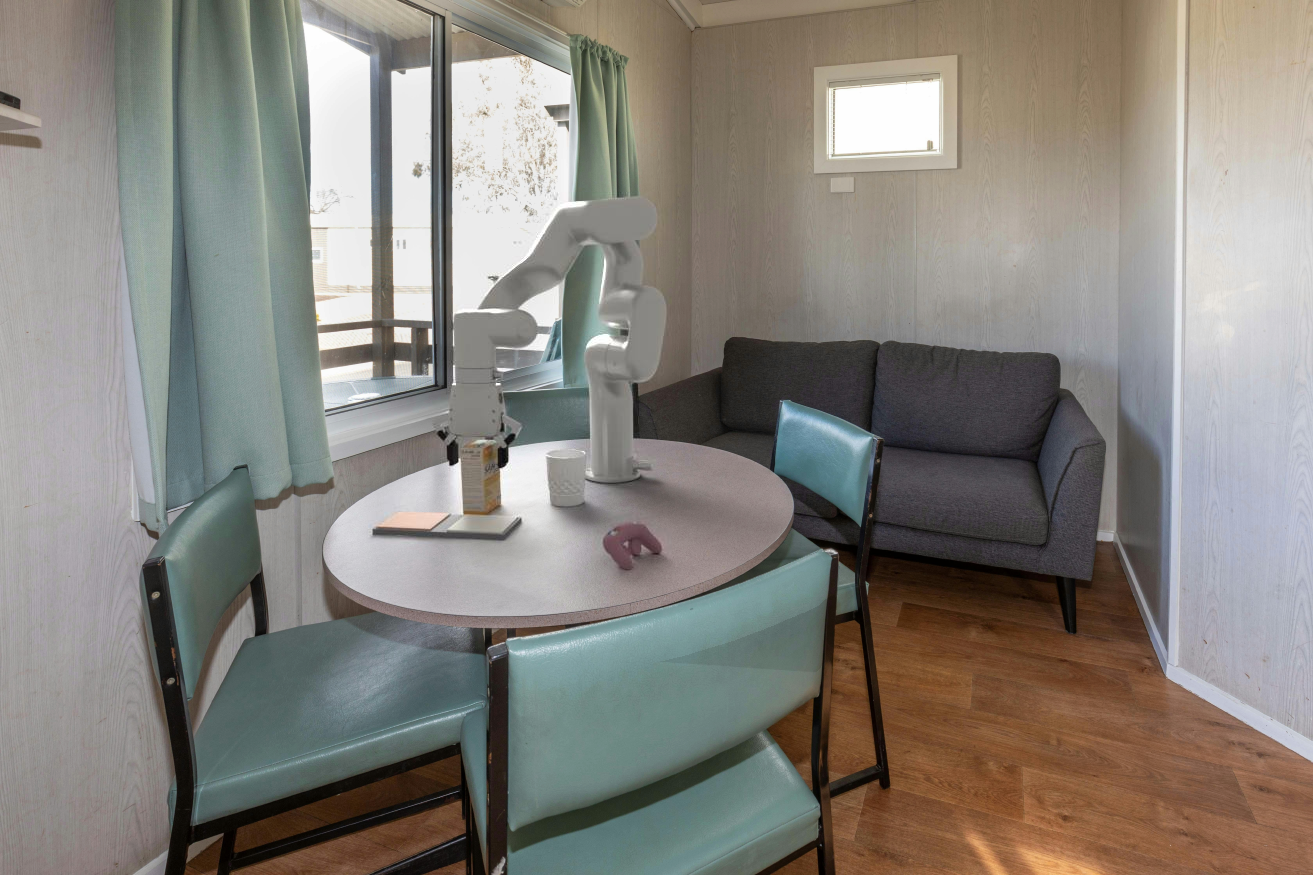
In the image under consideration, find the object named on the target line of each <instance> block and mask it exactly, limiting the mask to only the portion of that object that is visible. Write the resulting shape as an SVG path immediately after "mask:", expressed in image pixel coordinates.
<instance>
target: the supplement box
mask: <svg viewBox="0 0 1313 875" xmlns="http://www.w3.org/2000/svg"><path fill="white" fill-rule="evenodd" d="M499 447H500V445H499V444H498V443H497V441H496V440H495V439H476V440H475V441H473V442H470V443H469V444H466V445H463V446H461V447H460V448H459V454H460V455H459V458H460V459H459V460H460V475H461V493H462V494H461V495H462V497H461V498H462V515H465V514H473V515H488V513H490V512H491V511H492V510H494V509H496V507H498V506H499V505H501V504H502V497H501V496H502V493H501V492H502V491H501V490H502V489H501V468H498V452H497V449H498V448H499Z"/></svg>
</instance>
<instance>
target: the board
mask: <svg viewBox="0 0 1313 875" xmlns="http://www.w3.org/2000/svg"><path fill="white" fill-rule="evenodd" d="M522 519H523V518H522V517H521V516H518V515H517V516H515V515H496V514H495V515H493V514H490V515H489V514H486V515H473V514H457V513H455V514H452V513H449V512H423V511H422V512H421V511H402V510H401V511H398V512H396V513H395V514H392V515H391V516H390V517H388V518H387V519H385V520H383V521H382V522H381V523H379V524H377V525H376V526H374V527H373V528H372V529H371V530H372V535H381V536H383V535H384V536H399V537H400V536H403V537H406V536H407V537H420V538H421V537H423V538H425V537H426V538H444V539H466V540H487V541H503V542H504V541H505V540H506V539H507V538H508V537H510V536H511V534H512V533H513V532H514V531H515V530H516V529H517V528H518V527H519V526H520V525H521V524H522V523H523V520H522Z"/></svg>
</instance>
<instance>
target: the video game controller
mask: <svg viewBox="0 0 1313 875" xmlns="http://www.w3.org/2000/svg"><path fill="white" fill-rule="evenodd" d="M625 543H627V546H626V545H625ZM602 545H603V548H604V551H605V552H606V553H607V554H608V555H609V556H610V557H611V558H612V560H613V561H614V562H615V563H616V564H617V565H618V566H619V567H620V568H622V569H624V570H626V569H627V571H630V570H631V569H632V568H633V561H632V559H631V556H633V557H635V556H634V555H636V556H638V555H640V554H642V546H643V547H645V548H646V550H648V551H649V552H650V553H653V554H655V553H658V554H657V555H660V554H661V553H662V552H663V547H662V543H661V542H660V541H659V539H658V538H657V537H656V536H655V535H654V534H653V533H652V532H651V531H650V530H649V528H647V526H646V525H645V524H643V523H641V521H640V520H637V521H626V522H622V523H619V524H617V525H615V526H613V527H612V528H611V529H610V530H609V531H608V532H607V533H606V534H605V535H604V536H603V538H602Z"/></svg>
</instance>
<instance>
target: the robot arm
mask: <svg viewBox="0 0 1313 875" xmlns="http://www.w3.org/2000/svg"><path fill="white" fill-rule="evenodd" d="M657 211H658V210H657V208H656V206H655V205H654V204H653V202H652V201H651V200H649V199H648V198H646V197H644V196H641V195H637V196H626V197H625V196H624V197H613V198H609V197H608V198H603V199H596V200H595V199H594V200H593V199H592V200H582V201H581V200H580V201H571V202H566V203H563V204H561V205H560V206H558V207H557V208H556V209H555V210H554V212H553V214H552V215H551V216H550V218H549V220H548V221H547V222H546V224H545V226H544V228H543V229H542V230H541V232H540V234H539V235H538V238H536V240H535V241H534V243H533V245H532V247H531V248H530V250H529V252H528V253H527V254H526V256H525V257H524V259H522V260H520V261H519V262H518V263H517V264H516V265H514V266H513V267H512V268H511V269H509V271H508V272H506V273H505V274H504V275H503V276H501V277H500V279H498V280H497V281H496V282H495V283H494V284H493V285H492V286H491V288H490V289H489V290H488V291H487V293H486V294H485V296H484V297H483V299H482V301H481V302H480V304H479V306H478V307H477V309H461V310H458V311H457V312H455V313H454V315H453V351H454V355H453V356H454V378H455V382H454V383H452V384H451V388H450V394H449V401H448V402H449V404H448V413H447V414H445V415H443V416H441V417H439V418H437V419H435V420H433V421H432V424H431V425H432V426H433V428H434V430H435V432H436V435H437V436H438V437H439V439H440V440H442V442H443V444H444V445H445V446H446V459H447V461H448V466H449V467H454V466H455V465H456V464H458V463H459V461H460V459H459V458H460V455H459V454H460V453H459V443H458V442H457V439H458V438H459V437H467V438H489V439H490V438H493V440H496V441H497V443H498V444H499V448H498V449H497V452H498V468H500V470H501V469H504V468H505V467H506V466H507V464H508V463H509V460H510V459H509V458H510V455H509V454H510V453H509V451H510V450H509V446H510V445H511V444H512V443H513V442H514V441H515V440H516V439H517V437H518V436H519V434H520V432H521V429H522V428H523V425H522V423H521V422H519V421H517V420H515V419H513V418H511V417H510V416H508V415H507V414H506V404H505V397H504V392H503V388H502V384H501V383H499V382H498V380H499V379H503V378H504V371H500V370H498V367H497V353H496V350H497V348H505V349H506V348H507V349H515V350H516V349H517V350H518V349H523V348H527V347H528V346H530V345H531V344H532V343H534V341H535V340H536V338H537V336H538V332H539V326H538V322H537V320H536V318H535V317H534V316H533V315H532V314H531V313H529V312H528V311H525V310H522V309H520V308H521V307H522V306H523V305H524V304H525V303H526V302H527V301H529V300H530V299H532V298H534V297H536V296H538V295H540V294H542V293H545V292H548V291H550V290H551V289H554V288H555V287H557V286H558V285H560V284H561V283H563V282H564V280H565V278H566V276H567V275H568V273H569V272H570V270H571V269H572V266H573V265H574V263H575V262H576V260H577V259H578V256H579V255H580V253H581V252H582V250H583V249H584V247H586V246H597V245H598V246H599V247H600V249H601V251H602V254H603V255H602V256H603V259H604V261H603V262H604V264H603V265H604V266H603V273H602V281H601V288H600V294H599V302H598V314H597V315H598V319H599V320H600V322H601V323H602V324H603V325H604V326H606V327H608V328H611V329H618V330H627V331H628V334H627V335H622V334H612V333H611V334H609V333H608V334H607V333H606V334H599V335H598V336H594V337H593V338H591V339H590V341H588V343H587V344H586V347H585V349H584V354H583V361H584V367H585V373H586V377H587V383H588V392H589V393H588V394H589V440H590V449H589V450H590V467H588V468H586V475H585V480H586V479H587V480H588V481H591V482H592V481H593V482H596V483H598V482H599V483H609V484H610V483H611V484H613V483H616V484H617V483H624V482H625V483H626V482H630V481H631V482H632V481H634V480H636V479H638V478H640V476H641V471H645V472H646V471H647V472H648V471H650V472H652V471H653V466H654V465H653V462H652V461H649V460H639V459H638V458H637V454H635V453H634V411H633V410H634V399H633V393H632V388H631V387H630V383H629V382H634V383H643V382H647V381H649V380H651V378H652V377H653V376H654V375H656V374H655V373H656V372H657V370H658V368H659V363H660V360H661V354H662V348H663V342H664V336H665V329H666V322H667V317H668V316H667V314H668V313H667V312H668V311H667V304H666V301H665V297H664V295H663V294H662V292H661V290H659V289H658V288H656V287H655V286H651V285H645V284H643V274H644V258H643V254H642V251H641V249H640V246H638V244H637V242H636V241H638V240H644V239H646V238H648V237H649V236H651V235H652V233H653V232H654V231H655V229H656V227H657V225H658V218H659V217H658V212H657ZM497 382H498V383H497ZM446 423H448V431H449V432H448V431H447V430H446V429H445V427H444V424H446ZM507 426H508V427H510V428H511V431H510V433H509V434H508V435H507V434H506V431H507Z"/></svg>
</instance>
